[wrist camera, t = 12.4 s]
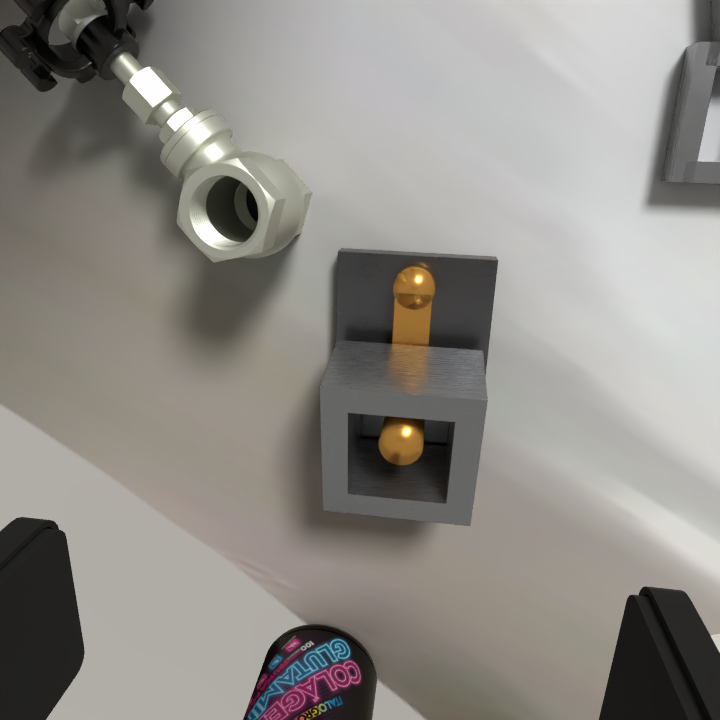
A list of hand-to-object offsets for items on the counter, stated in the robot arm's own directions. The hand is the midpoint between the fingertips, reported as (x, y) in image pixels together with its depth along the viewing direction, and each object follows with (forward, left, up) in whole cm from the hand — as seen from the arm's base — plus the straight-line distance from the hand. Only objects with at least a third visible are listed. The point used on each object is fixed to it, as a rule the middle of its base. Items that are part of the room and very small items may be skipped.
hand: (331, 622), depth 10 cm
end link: (+3, 0, -18) cm, 18 cm away
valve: (-8, -9, -20) cm, 23 cm away
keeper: (+2, 0, -19) cm, 19 cm away
